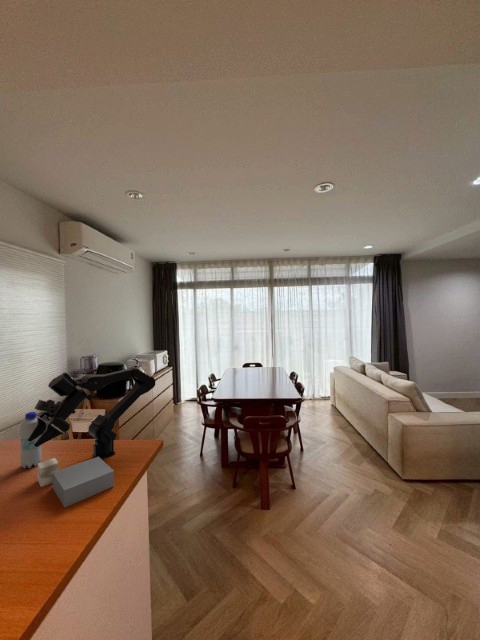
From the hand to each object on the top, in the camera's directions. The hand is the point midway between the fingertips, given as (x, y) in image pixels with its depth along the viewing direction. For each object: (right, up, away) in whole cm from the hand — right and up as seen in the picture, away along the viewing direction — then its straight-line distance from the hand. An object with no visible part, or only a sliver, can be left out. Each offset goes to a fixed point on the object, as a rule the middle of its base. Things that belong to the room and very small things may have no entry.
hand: (31, 443), depth 92 cm
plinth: (+19, -13, -3) cm, 23 cm away
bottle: (-9, -14, +12) cm, 20 cm away
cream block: (+5, -13, +1) cm, 14 cm away
